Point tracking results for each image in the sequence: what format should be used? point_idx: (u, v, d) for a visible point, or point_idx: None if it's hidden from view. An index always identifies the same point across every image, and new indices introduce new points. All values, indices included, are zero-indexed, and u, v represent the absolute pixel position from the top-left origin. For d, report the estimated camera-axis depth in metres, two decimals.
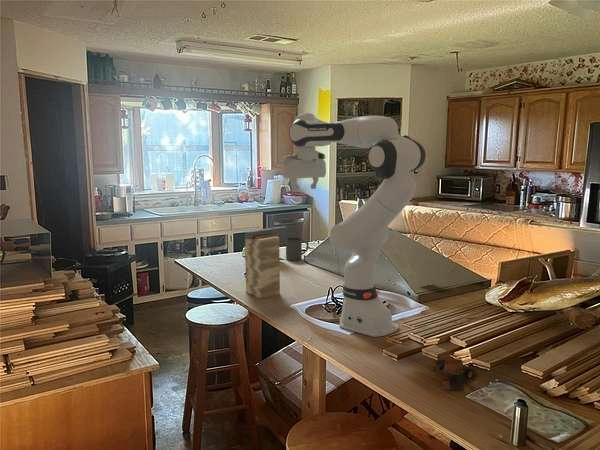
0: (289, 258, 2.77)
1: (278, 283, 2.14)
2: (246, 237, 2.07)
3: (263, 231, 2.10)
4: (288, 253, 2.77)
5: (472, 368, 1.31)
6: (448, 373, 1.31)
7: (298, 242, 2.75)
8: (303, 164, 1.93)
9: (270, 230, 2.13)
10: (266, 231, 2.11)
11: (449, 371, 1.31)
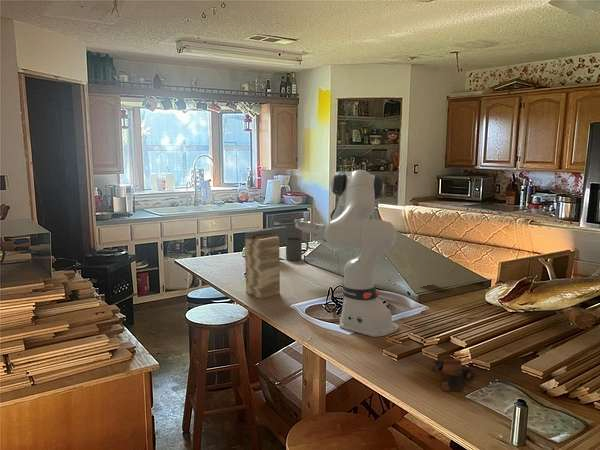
0: (289, 258, 2.77)
1: (278, 283, 2.14)
2: (246, 237, 2.07)
3: (263, 231, 2.10)
4: (288, 253, 2.77)
5: (471, 369, 1.31)
6: (447, 374, 1.31)
7: (298, 242, 2.75)
8: None
9: (270, 230, 2.13)
10: (266, 231, 2.11)
11: (448, 372, 1.31)
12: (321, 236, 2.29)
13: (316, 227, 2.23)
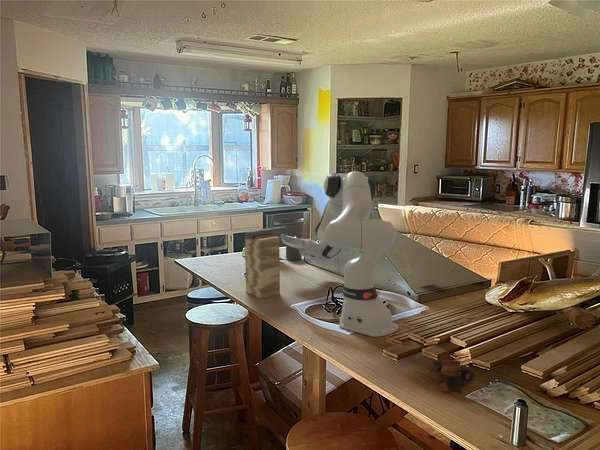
0: (289, 258, 2.77)
1: (278, 283, 2.14)
2: (246, 237, 2.07)
3: (263, 231, 2.10)
4: (288, 253, 2.77)
5: (470, 369, 1.30)
6: (446, 375, 1.30)
7: None
8: None
9: (270, 230, 2.13)
10: (266, 231, 2.11)
11: (447, 373, 1.30)
12: (308, 251, 2.24)
13: (302, 242, 2.19)
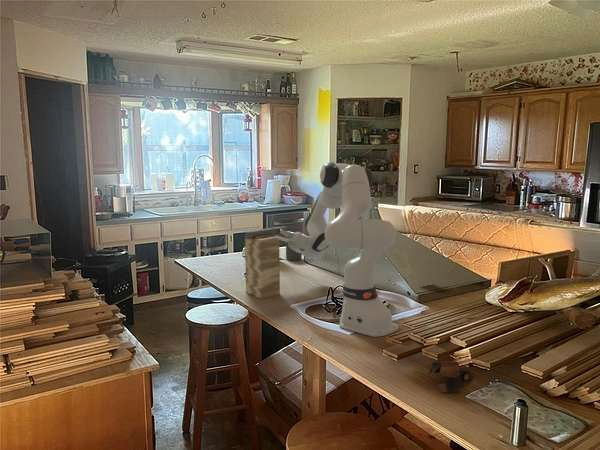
0: (289, 258, 2.77)
1: (278, 283, 2.14)
2: (246, 237, 2.07)
3: (263, 231, 2.10)
4: (288, 253, 2.77)
5: (468, 370, 1.30)
6: (444, 375, 1.30)
7: None
8: None
9: (270, 230, 2.13)
10: (266, 231, 2.11)
11: (445, 373, 1.30)
12: (297, 245, 2.20)
13: (288, 235, 2.16)
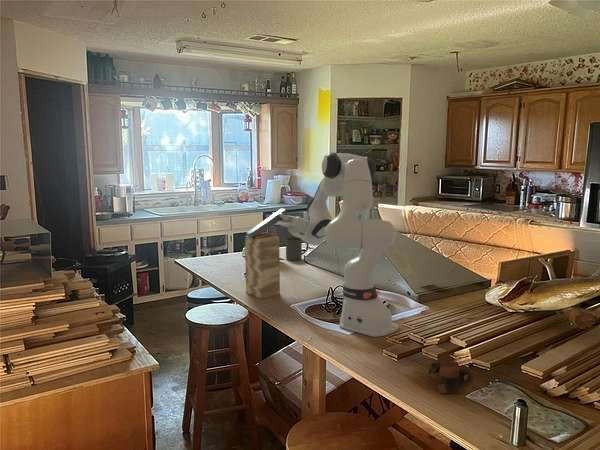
0: (289, 258, 2.77)
1: (278, 283, 2.14)
2: (250, 237, 2.08)
3: (264, 225, 2.10)
4: (288, 253, 2.77)
5: (468, 371, 1.29)
6: (444, 376, 1.29)
7: (298, 242, 2.75)
8: None
9: (270, 220, 2.12)
10: (266, 223, 2.11)
11: (445, 374, 1.29)
12: (297, 229, 2.18)
13: (287, 219, 2.15)
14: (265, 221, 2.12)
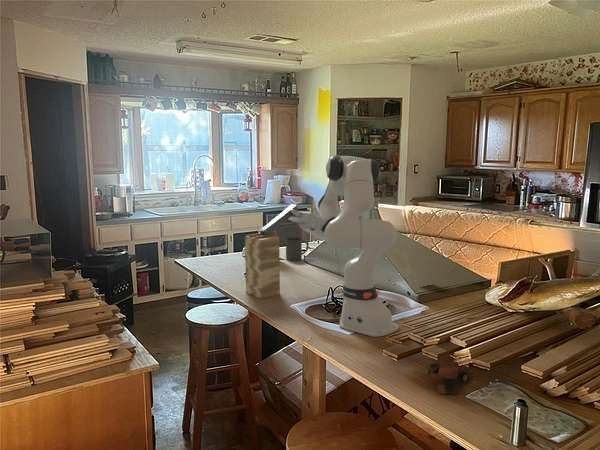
0: (289, 258, 2.77)
1: (278, 283, 2.14)
2: None
3: (276, 222, 2.14)
4: (288, 253, 2.77)
5: (467, 371, 1.29)
6: (443, 377, 1.29)
7: (298, 242, 2.75)
8: None
9: (282, 217, 2.16)
10: (279, 220, 2.15)
11: (444, 375, 1.29)
12: (308, 224, 2.22)
13: (299, 214, 2.19)
14: (277, 218, 2.16)
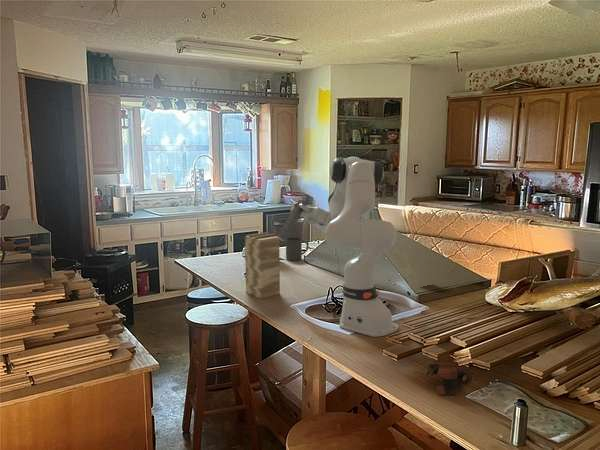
0: (289, 258, 2.77)
1: (278, 283, 2.14)
2: (281, 240, 2.19)
3: (289, 224, 2.19)
4: (288, 253, 2.77)
5: (466, 372, 1.29)
6: (442, 377, 1.29)
7: (298, 242, 2.75)
8: None
9: (294, 217, 2.20)
10: (292, 221, 2.20)
11: (443, 375, 1.29)
12: (317, 220, 2.25)
13: (308, 209, 2.22)
14: (289, 219, 2.21)
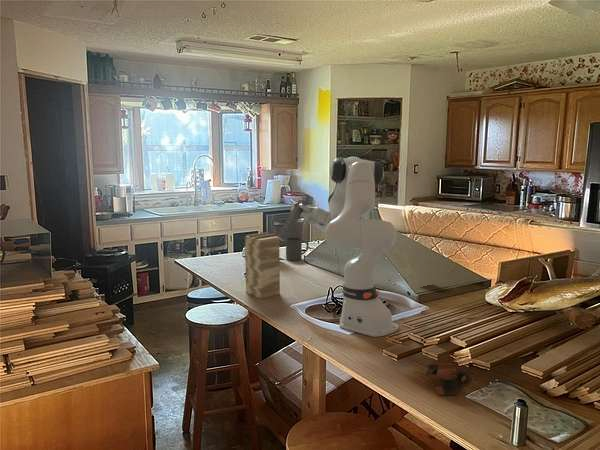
0: (289, 258, 2.77)
1: (278, 283, 2.14)
2: (281, 240, 2.19)
3: (290, 224, 2.19)
4: (288, 253, 2.77)
5: (466, 372, 1.28)
6: (441, 378, 1.28)
7: (298, 242, 2.75)
8: None
9: (294, 217, 2.20)
10: (292, 221, 2.20)
11: (442, 376, 1.28)
12: (317, 220, 2.25)
13: (308, 209, 2.22)
14: (289, 219, 2.21)
